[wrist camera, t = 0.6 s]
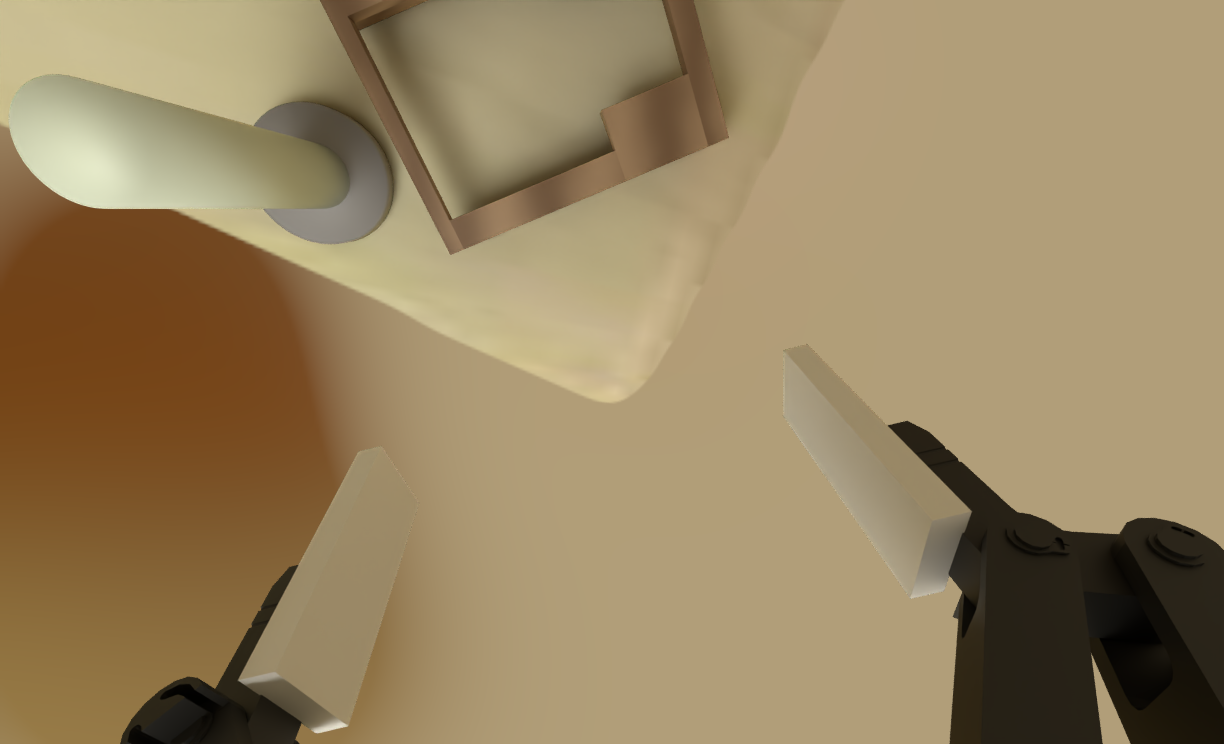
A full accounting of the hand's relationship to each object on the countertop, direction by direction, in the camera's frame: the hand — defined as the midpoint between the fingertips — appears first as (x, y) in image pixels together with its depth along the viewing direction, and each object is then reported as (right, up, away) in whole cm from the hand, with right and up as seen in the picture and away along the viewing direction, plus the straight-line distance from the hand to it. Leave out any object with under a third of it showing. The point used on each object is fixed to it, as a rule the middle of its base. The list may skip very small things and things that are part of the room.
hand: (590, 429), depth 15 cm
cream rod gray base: (-20, +16, +18) cm, 31 cm away
